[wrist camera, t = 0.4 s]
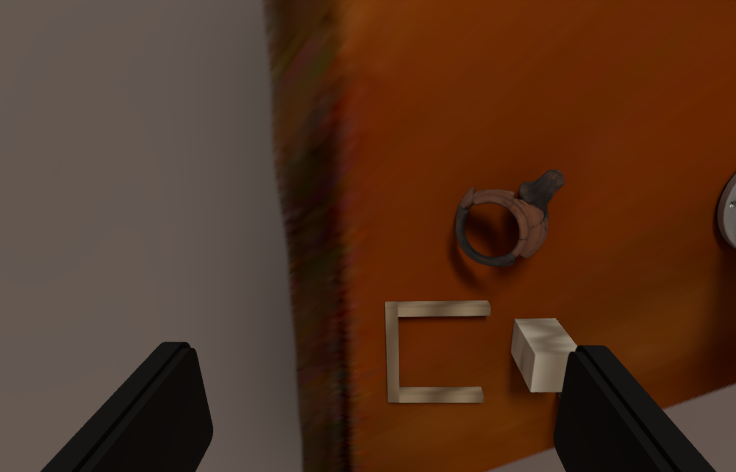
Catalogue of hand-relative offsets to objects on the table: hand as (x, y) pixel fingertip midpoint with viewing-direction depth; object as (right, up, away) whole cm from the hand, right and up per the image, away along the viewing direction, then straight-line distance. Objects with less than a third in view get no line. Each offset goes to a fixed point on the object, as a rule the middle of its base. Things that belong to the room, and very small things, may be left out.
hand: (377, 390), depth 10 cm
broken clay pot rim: (+15, +7, +33) cm, 37 cm away
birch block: (+21, -9, +38) cm, 44 cm away
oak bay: (+9, -11, +39) cm, 42 cm away
